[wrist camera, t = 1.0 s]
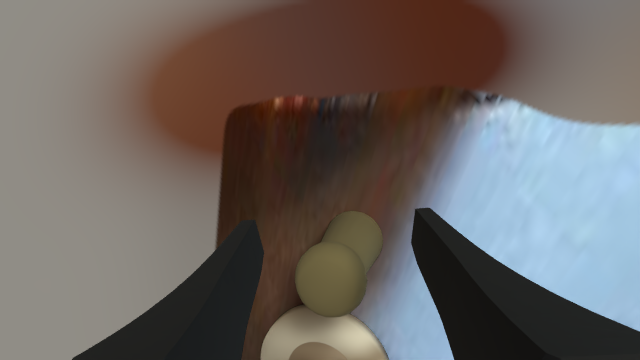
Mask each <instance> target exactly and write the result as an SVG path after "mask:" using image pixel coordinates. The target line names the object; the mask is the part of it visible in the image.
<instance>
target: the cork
mask: <svg viewBox="0 0 640 360" xmlns="http://www.w3.org/2000/svg"><path fill="white" fill-rule="evenodd" d="M382 245H383V237H382V232H381V230H380V228H379V226H378V224H377V223H376V222H375V221H374V220H373V219H372V218H371V217H370V216H368V215H366V214H364V213H362V212H356V211H348V212H343V213H341V214H339V215H337V216H336V217H335V218H334V219H333V220H332V221H331V222H330V224H329V226H328V228H327V230H326V232H325V234H324V236H323V238H322V240H321V242H320V243H319V244H317V245H315V246H312V247H311V248H310V249H309V250H308V251H307V252H306V253H305V254H304V255H303V256H302V257H301V258H300V261H299V263H298V265H297V267H296V272H295V284H296V289H297V292H298V294H299V296H300V298H301V300H302V302H303V303H304V304H305V305H306V306H307V308H308V309H310V310H311V311H313V312H314V313H316V314H317V315H320V316H324V317H342V316H344V315H347V314H349V313H351V312H352V311H353V310H354V309H355V308H356V307H357V306H358V305H359V304H360V303H361V301H362V299H363V297H364V295H365V292H366V285H367V276H366V273H367V272H368V270H369V269H370V268H371V266H372V265H373V263H374V262H375V260H376V259H377V258H378V256H379V254H380V252H381V250H382Z"/></svg>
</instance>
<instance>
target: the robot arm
mask: <svg viewBox="0 0 640 360" xmlns="http://www.w3.org/2000/svg"><path fill="white" fill-rule="evenodd" d="M411 244H412V247H413V251H414V254H415V258H416V261H417V264H418V266H419V269H420V271H421V273H422V276H423V278H424V280H425V283H426V285H427V287H428V289H429V292H430V294H431V296H432V299H433V301H434V303H435V305H436V308H437V310H438V312H439V315H440V318H441V320H442V323H443V326H444V329H445V332H446V335H447V338H448V341H449V344H450V347H451V350H452V354H453V357H454V360H640V332H639V331H637V330H635V329H632V328H630V327H627V326H625V325H623V324H620V323H618V322H616V321H613V320H611V319H608V318H606V317H604V316H601V315H599V314H597V313H594V312H592V311H590V310H588V309H586V308H583V307H581V306H579V305H577V304H575V303H573V302H571V301H569V300H566V299H564V298H562V297H560V296H558V295H556V294H554V293H553V292H551V291H549V290H547V289H545V288H543V287H541V286H539V285H538V284H536V283H534V282H532V281H530V280H528V279H527V278H525V277H523V276H521V275H520V274H518V273H516V272H515V271H513V270H512V269H510V268H508V267H507V266H505V265H503V264H502V263H500V262H499V261H497V260H496V259H494V258H493V257H491V256H490V255H488V254H487V253H486V252H484V251H483V250H481V249H480V248H479V247H477V246H476V245H474V244H473V243H472V242H471V241H469V240H468V239H467V238H465V237H464V236H463V235H462V234H460V233H459V232H458V231H457V230H455V229H454V228H453V227H452V226H450V225H449V224H448V223H447V222H446V221H445V220H443V219H442V218H441V217H440V216H439V215H437V214H436V213H435V212H434V211H433V210H432V209H430V208H419V209H415V216H414V224H413V232H412V240H411ZM263 255H264V250H263V247H262V243H261V240H260V236H259V232H258V229H257V225H256V222H255V220H244V221H241V222H240V223H239V224H238V226H237V227H236V228H235V229H234V230H233V231H232V232H231V233H230V235H229V236H228V237H227V238H226V239H225V240H224V241H223V243H222V244H221V245H220V246H219V247H218V248H217V249H216V250H215V251H214V252H213V254H212V255H211V256H210V257H209V258H208V259H207V260H206V261H205V262H204V263H203V264H202V265H201V266H200V267H199V268H198V269H197V270H196V271H195V272H194V273H193V274H192V275H191V276H190V277H188V278H187V279H186V280H185V281H184V282H183V283H182V284H180V285H179V286H178V287H177V288H176V289H175V290H173V291H172V292H171V293H170V294H168V295H167V296H166V297H165V298H163V299H162V300H161V301H159V302H158V303H157V304H155V305H154V306H153V307H152V308H150V309H149V310H148V311H146V312H145V313H144V314H142V315H141V316H139V317H138V318H137V319H135V320H133V321H132V322H131V323H129V324H128V325H126V326H125V327H123V328H122V329H120V330H119V331H117V332H115V333H114V334H112V335H111V336H109V337H107V338H106V339H104V340H102V341H101V342H99V343H98V344H96V345H94V346H93V347H91V348H89V349H88V350H86V351H84V352H83V353H81V354H79V355H77V356H76V357H74V358H73V359H72V360H241V357H242V351H243V345H244V339H245V333H246V328H247V324H248V320H249V316H250V312H251V309H252V305H253V301H254V298H255V294H256V290H257V287H258V283H259V279H260V275H261V270H262V263H263Z"/></svg>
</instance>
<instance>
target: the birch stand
mask: <svg viewBox="0 0 640 360" xmlns="http://www.w3.org/2000/svg"><path fill="white" fill-rule="evenodd" d="M261 360H389V358H388V355H387V353H386V351H385V349H384V347H383V346H382V344H381V343H380V341H379V339H378V338H377V337H376V336H375V334H374V333H373V332H372V331H371V330H370V329H369V328H368V327H367V326H366V325H365V324H364V323H363V322H361V321H360V320H359V319H358V318H356V317H355V316H353V315H351V314H350V313H349V314H347V315H344V316H342V317H324V316H320V315H317V314H316V313H314V312H313V311H311V310H310V309H308V308H307V306H306V305H305V304H304V305H299V306H297V307H294V308H292V309H290V310H288V311H286V312H285V313H284V314H282V315H281V316H280V317H279V318H278V319H277V321H276V322H275V323H274V325H273V326H272V327H271V329H270V330H269V331H268V333H267V335H266V337H265V339H264V342H263V345H262V349H261Z"/></svg>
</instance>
